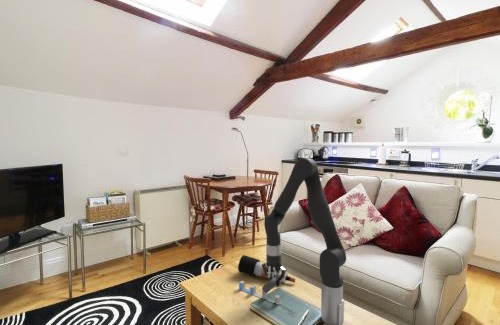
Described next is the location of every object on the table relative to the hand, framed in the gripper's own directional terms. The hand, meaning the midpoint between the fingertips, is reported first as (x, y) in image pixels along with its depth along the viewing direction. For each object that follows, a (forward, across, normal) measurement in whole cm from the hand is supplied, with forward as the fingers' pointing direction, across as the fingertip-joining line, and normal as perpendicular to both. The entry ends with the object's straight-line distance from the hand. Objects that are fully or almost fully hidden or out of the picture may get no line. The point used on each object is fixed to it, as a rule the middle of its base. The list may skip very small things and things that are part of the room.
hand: (274, 285), depth 138 cm
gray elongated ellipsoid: (0, 0, +3) cm, 3 cm away
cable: (+7, +15, -16) cm, 23 cm away
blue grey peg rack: (+7, +8, +2) cm, 11 cm away
